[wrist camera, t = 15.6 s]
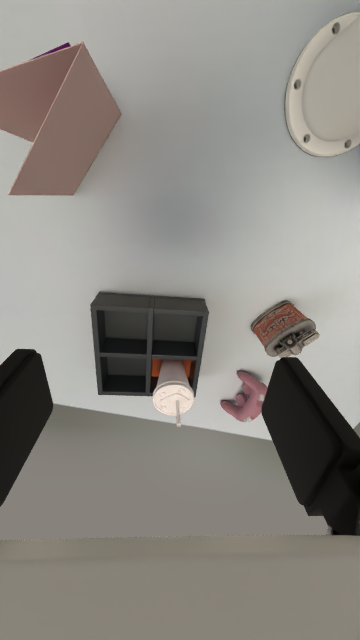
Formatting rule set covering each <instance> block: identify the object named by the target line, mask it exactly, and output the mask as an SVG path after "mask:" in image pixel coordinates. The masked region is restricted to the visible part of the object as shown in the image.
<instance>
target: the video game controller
mask: <svg viewBox="0 0 360 640" xmlns="http://www.w3.org/2000/svg"><path fill="white" fill-rule="evenodd" d="M237 375H238V377H239V378H240V379H241V380H242V381H243V382H244V383H245V384H243V388H242V389H243V392H244V393H245V394H246V395H250V396H249V398H248V399H247V397H246V396H245V395H244V394H239V395H237V396H236V402H237V404H238V406H235V405H233V404H231V403H229V402H226V401H222V402H221V407H222V408H223V409H224V410H225V411H226V412H228V413H229V414H230V415H232V416H233V417H235V418H236V419H237V420H239V421H242V422H249V421H251V420H253V419H255V418H256V417H257V416H258V415H259V414H260V413H261V411H262V404H263V401H264V398H265V395H266V392H267V389H268V388H267V386H266V385H265V384H263V383H261V382H259V381H258V380H257V379H255V378H254V377H253V376H251V375H250V374H248V373H246V372H243V371H239V372H238V373H237Z"/></svg>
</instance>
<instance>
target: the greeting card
mask: <svg viewBox="0 0 360 640" xmlns="http://www.w3.org/2000/svg"><path fill="white" fill-rule="evenodd" d="M120 115H121V112H120V110H119V108H118V106H117V105H116V103H115V101H114V99H113V97H112V95H111V93H110V91H109V90H108V88H107V86H106V84H105V82H104V80H103V78H102V77H101V75H100V73H99V71H98V69H97V67H96V65H95V63H94V62H93V60H92V58H91V56H90V54H89V52H88V50H87V49H86V47H85V45H84V43H83V42H81V43H78V44H75V45H73V46H70V44H69V42H68V43H66V44H64V45H61V46H59V47H57V48H55V49H53V50H50V51H48V52H46V53H44V54H42V55H40V56H37V57H35V58H33V59H31V60H29V61H26V62H24V63H21V64H18V65H16V66H13V67H10V68H7V69H4V70H1V71H0V129H1V130H4V131H6V132H9V133H11V134H14V135H16V136H19V137H21V138H24V139H26V140H28V141H31V142H34V143H33V145H32V147H31V149H30V151H29V153H28V155H27V157H26V159H25V161H24V163H23V165H22V167H21V169H20V171H19V173H18V175H17V177H16V179H15V181H14V183H13V185H12V187H11V189H10V192H9V194H8V195H74V193H75V191H76V190H77V188H78V186H79V185H80V183H81V181H82V180H83V178H84V176H85V175H86V173H87V171H88V169H89V168H90V166H91V164H92V163H93V161H94V159H95V158H96V156H97V154H98V153H99V151H100V149H101V147H102V146H103V144H104V142H105V141H106V139H107V137H108V136H109V134H110V132H111V131H112V129H113V127H114V125H115V124H116V122H117V120H118V119H119V117H120Z"/></svg>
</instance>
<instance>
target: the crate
mask: <svg viewBox="0 0 360 640" xmlns="http://www.w3.org/2000/svg"><path fill="white" fill-rule="evenodd" d="M90 306H91V318H92V329H93V341H94V352H95V364H96V376H97V387H98V395H127V396H153V392H154V390H155V389H156V387H157V383H158V378H159V373H160V369H161V364H162V360H163V359H173V360H182V362H183V366H184V369H185V372H186V376H187V379H188V382H189V385H190V387H191V388H192V390H193V392H194V397H195V396H196V389H197V383H198V377H199V371H200V364H201V358H202V352H203V346H204V339H205V333H206V327H207V321H208V314H209V311H208V308H207V306H206V303H205V300H204V299H196V298H181V297H165V296H149V295H134V294H118V293H102V292H99V293H98V295H97V296H96V298H95V299H94V301H93V302H92V303H91V305H90Z"/></svg>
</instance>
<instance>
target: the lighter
mask: <svg viewBox="0 0 360 640" xmlns="http://www.w3.org/2000/svg"><path fill="white" fill-rule="evenodd" d="M251 329H252V331H253V332H254V333H255V334H256V335H257V337H258V338H259V340H260V341H261V343H262V344H263V346H264V348H265V351H266V353H267V354H268V355H269V356H271V357H275V356H279V357H280V358H282V357H289V356H290V355H298V354H299V353H301V351H302V348H303V347H304V346H307V345H308V344H310V343H311V342H313V341H314V340H316V339H318V338H319V333H318V332H317V331H316V330H315V329H316V325H315V323H314V322H313V321H312V320H311V319H309V318H307V317H305V316H304V315H303V314H302V313H301V312H300V311H298V310H297V309H296V308H295V307H294V305H293V304H292V303H291V302H290V301H287V300H285V301H282V302H280V303H278V304H276V305H274V306H273V307H271V308H269V309H268V310H266V311H265V312H264V313H262V314H261V315H260V316H259V317H258V318H257V319H256V320H255V321H254V322H253V323H252V324H251Z"/></svg>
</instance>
